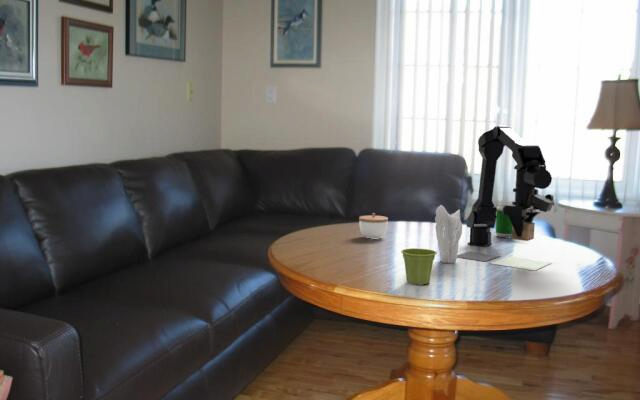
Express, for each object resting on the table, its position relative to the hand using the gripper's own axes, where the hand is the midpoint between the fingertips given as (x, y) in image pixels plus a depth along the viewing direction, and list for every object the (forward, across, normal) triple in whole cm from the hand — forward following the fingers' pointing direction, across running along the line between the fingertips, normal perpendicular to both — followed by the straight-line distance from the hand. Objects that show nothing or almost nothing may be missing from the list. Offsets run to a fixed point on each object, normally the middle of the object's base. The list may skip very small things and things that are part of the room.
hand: (522, 235), depth 205 cm
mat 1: (+9, 0, +15) cm, 17 cm away
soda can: (+9, +42, +24) cm, 49 cm away
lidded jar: (+9, +4, +59) cm, 60 cm away
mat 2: (+9, 0, 0) cm, 9 cm away
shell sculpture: (+9, -14, +18) cm, 24 cm away
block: (+1, 0, 0) cm, 1 cm away
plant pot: (+9, -43, +11) cm, 45 cm away
